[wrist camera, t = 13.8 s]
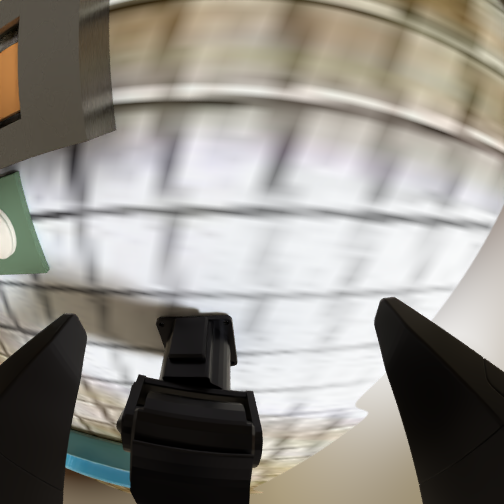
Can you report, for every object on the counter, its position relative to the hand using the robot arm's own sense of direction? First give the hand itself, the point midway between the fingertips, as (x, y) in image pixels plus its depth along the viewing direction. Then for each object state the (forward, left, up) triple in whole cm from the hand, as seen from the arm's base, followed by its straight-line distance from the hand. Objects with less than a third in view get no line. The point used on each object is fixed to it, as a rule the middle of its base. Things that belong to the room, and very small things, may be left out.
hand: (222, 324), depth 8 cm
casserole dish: (-52, +31, -12) cm, 62 cm away
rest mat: (-1, +21, -12) cm, 24 cm away
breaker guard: (+11, +15, -12) cm, 22 cm away
